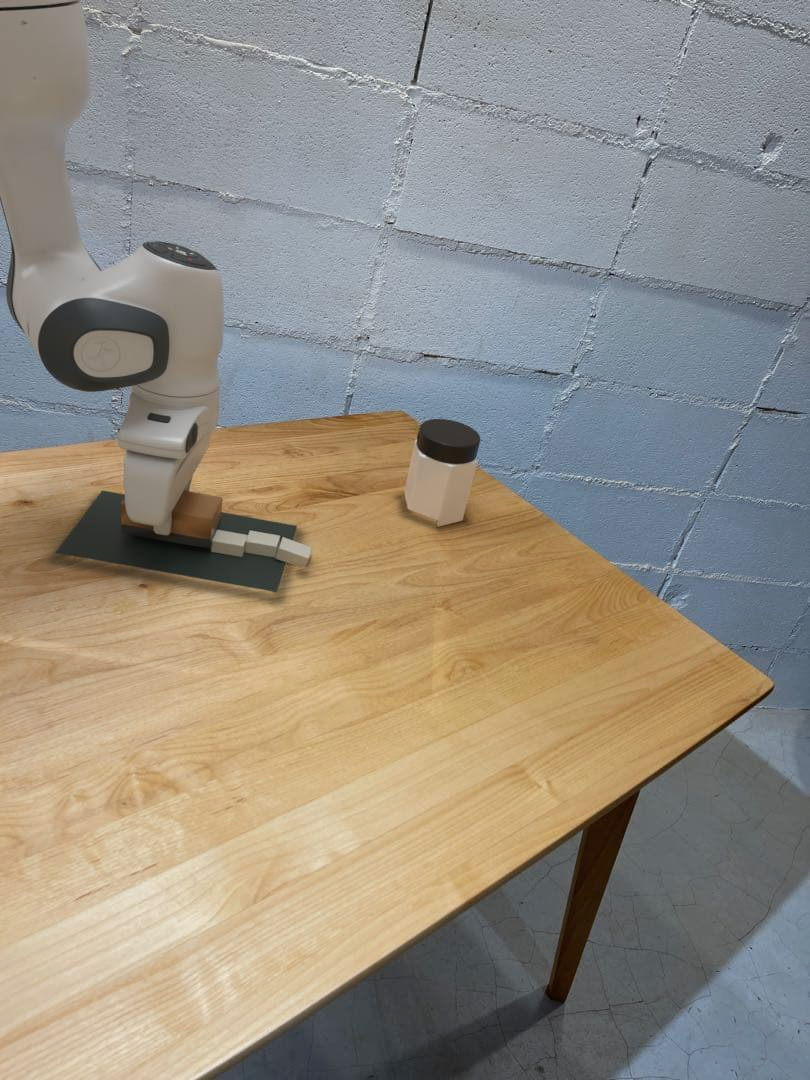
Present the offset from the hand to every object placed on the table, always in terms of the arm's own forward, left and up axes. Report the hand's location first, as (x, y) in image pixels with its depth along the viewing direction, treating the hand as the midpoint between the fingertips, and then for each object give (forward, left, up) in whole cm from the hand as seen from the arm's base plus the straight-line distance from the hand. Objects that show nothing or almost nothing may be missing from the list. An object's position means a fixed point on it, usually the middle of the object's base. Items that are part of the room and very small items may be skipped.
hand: (171, 517), depth 93 cm
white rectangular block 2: (+10, 0, -2) cm, 11 cm away
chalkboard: (+2, 0, -4) cm, 4 cm away
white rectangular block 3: (+14, 0, -3) cm, 14 cm away
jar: (+31, +19, -4) cm, 36 cm away
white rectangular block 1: (+7, -1, -2) cm, 7 cm away
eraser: (0, 0, -2) cm, 2 cm away
